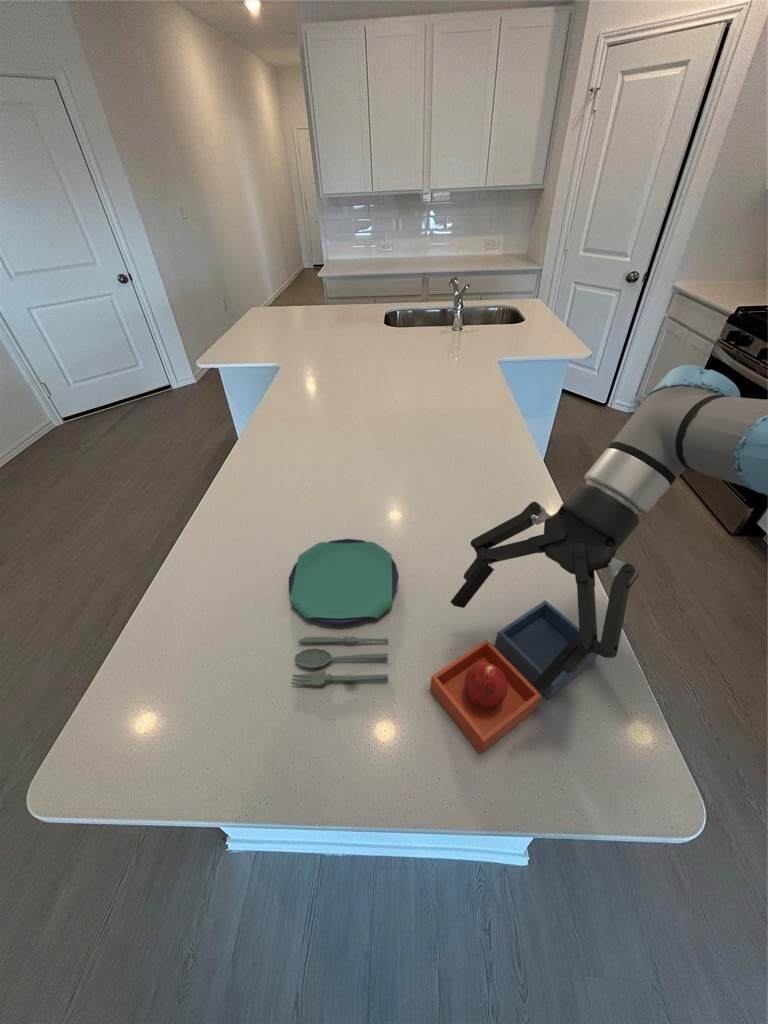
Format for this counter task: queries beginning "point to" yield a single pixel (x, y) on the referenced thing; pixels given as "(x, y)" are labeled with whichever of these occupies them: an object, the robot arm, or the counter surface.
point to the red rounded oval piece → (486, 685)
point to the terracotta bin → (475, 720)
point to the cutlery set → (341, 598)
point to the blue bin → (540, 644)
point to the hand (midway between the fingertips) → (494, 643)
